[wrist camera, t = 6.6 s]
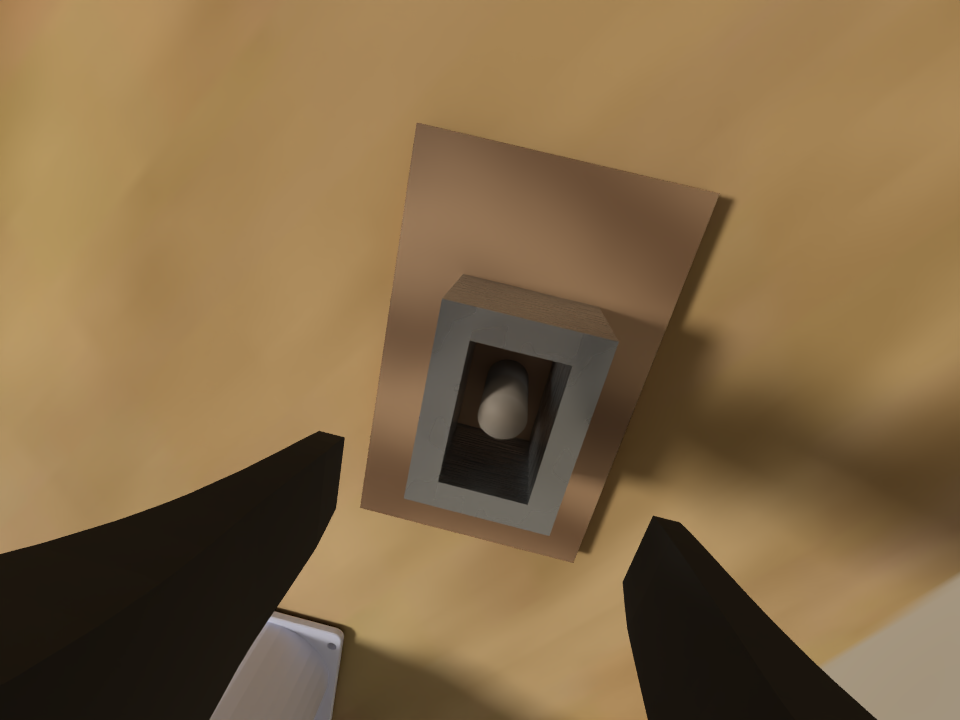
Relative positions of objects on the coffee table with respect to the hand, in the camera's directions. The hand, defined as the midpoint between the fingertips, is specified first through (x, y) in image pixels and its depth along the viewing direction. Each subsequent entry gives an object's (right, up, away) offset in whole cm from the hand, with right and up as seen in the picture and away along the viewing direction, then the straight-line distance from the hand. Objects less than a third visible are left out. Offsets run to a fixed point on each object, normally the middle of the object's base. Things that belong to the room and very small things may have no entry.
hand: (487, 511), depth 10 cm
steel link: (+1, +3, +7) cm, 8 cm away
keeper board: (+1, +3, +8) cm, 8 cm away
